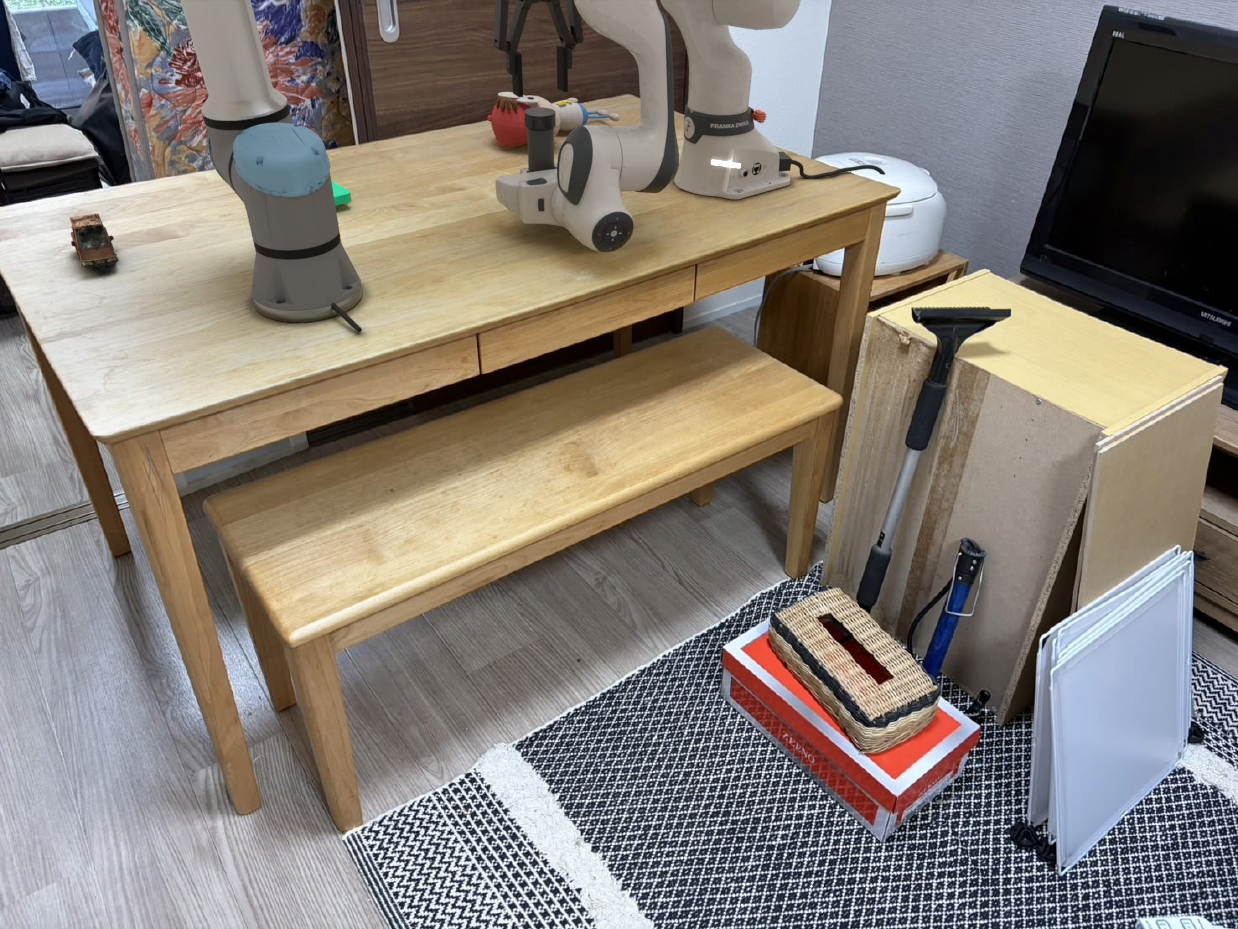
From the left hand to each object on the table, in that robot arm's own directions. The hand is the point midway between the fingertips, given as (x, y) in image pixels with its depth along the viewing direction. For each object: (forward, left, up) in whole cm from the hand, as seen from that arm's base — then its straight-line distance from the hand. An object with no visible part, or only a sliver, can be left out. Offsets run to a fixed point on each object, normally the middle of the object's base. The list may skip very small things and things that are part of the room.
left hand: (540, 92), depth 152 cm
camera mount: (+20, +34, -20) cm, 45 cm away
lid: (0, 0, -3) cm, 3 cm away
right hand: (+1, 0, -13) cm, 13 cm away
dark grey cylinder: (0, 0, -20) cm, 20 cm away
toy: (+36, -20, -20) cm, 46 cm away
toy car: (+12, +71, -20) cm, 74 cm away
